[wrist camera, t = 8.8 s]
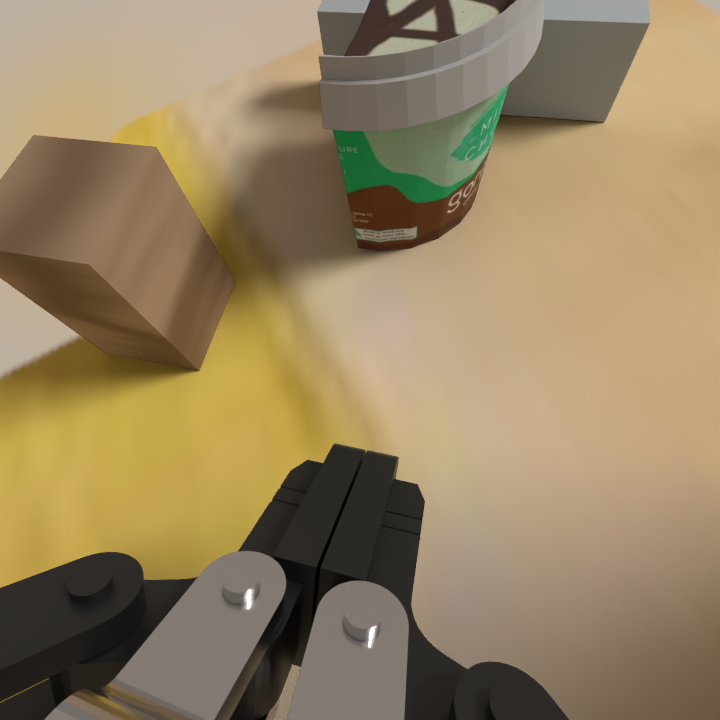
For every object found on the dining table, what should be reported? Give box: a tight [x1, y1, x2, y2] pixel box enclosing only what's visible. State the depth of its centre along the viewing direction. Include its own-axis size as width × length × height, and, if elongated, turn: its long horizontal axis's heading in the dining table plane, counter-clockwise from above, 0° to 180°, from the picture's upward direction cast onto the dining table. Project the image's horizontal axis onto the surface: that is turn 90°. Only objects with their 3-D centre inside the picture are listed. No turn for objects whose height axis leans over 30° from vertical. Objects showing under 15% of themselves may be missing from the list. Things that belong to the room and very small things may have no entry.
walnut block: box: [0, 135, 235, 371], centre depth 18 cm, size 5×5×8 cm
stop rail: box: [317, 0, 650, 122], centre depth 24 cm, size 16×2×5 cm, turn 77°
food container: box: [319, 0, 545, 251], centre depth 19 cm, size 12×6×10 cm, turn 162°
